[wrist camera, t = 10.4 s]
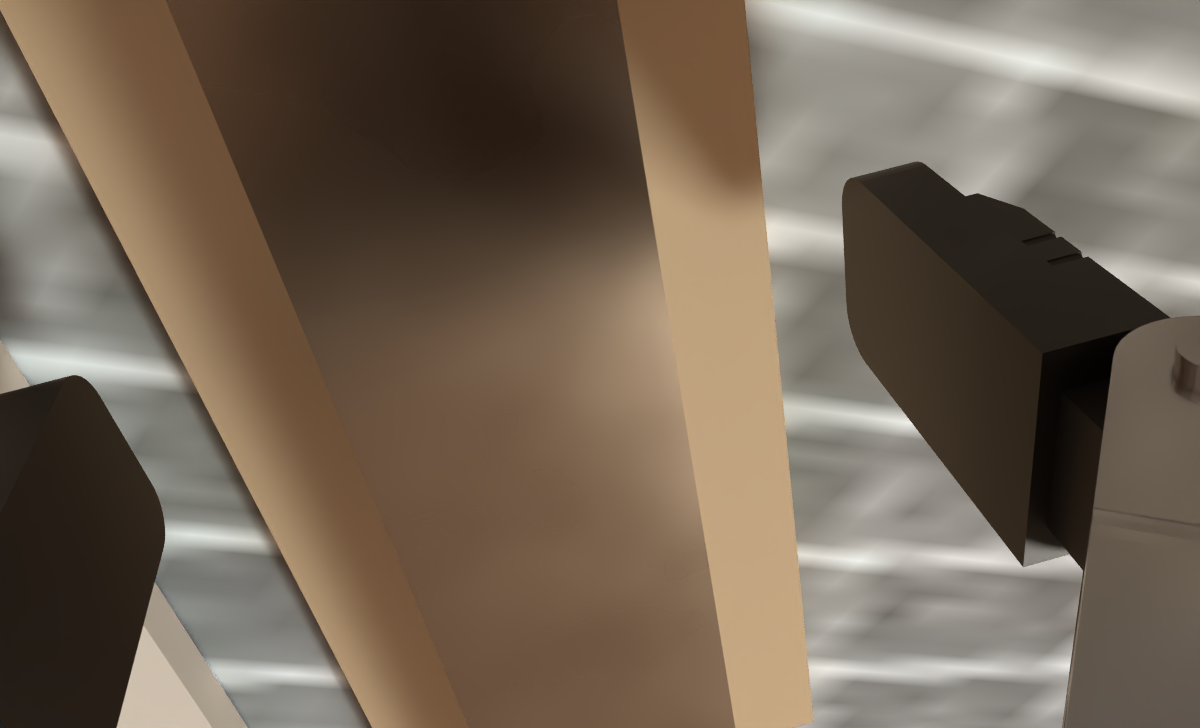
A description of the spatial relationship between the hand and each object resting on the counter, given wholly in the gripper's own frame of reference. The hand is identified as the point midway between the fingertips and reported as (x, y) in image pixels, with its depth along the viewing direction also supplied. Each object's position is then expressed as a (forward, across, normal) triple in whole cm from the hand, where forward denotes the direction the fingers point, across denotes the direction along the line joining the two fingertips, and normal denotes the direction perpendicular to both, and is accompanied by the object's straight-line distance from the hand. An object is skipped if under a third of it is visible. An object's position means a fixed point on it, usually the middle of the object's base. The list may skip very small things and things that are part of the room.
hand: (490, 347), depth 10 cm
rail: (+1, 0, 0) cm, 1 cm away
